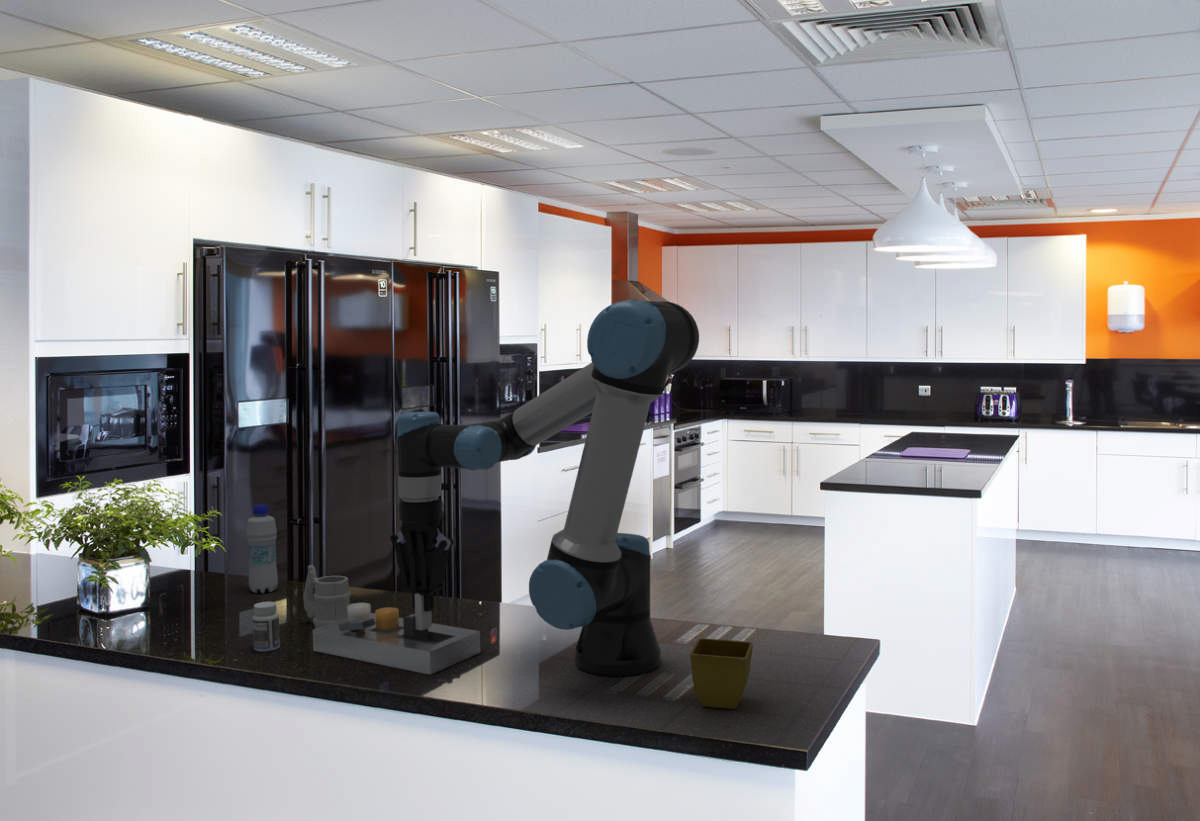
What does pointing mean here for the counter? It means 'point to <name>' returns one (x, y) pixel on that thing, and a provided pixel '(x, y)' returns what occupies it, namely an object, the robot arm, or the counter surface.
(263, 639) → the pill bottle
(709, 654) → the flower pot
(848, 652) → the counter surface
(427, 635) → the slider knob
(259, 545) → the bottle
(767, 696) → the counter surface
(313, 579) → the mug
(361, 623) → the block
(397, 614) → the orange button
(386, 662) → the panel
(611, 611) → the robot arm
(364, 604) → the cream button
